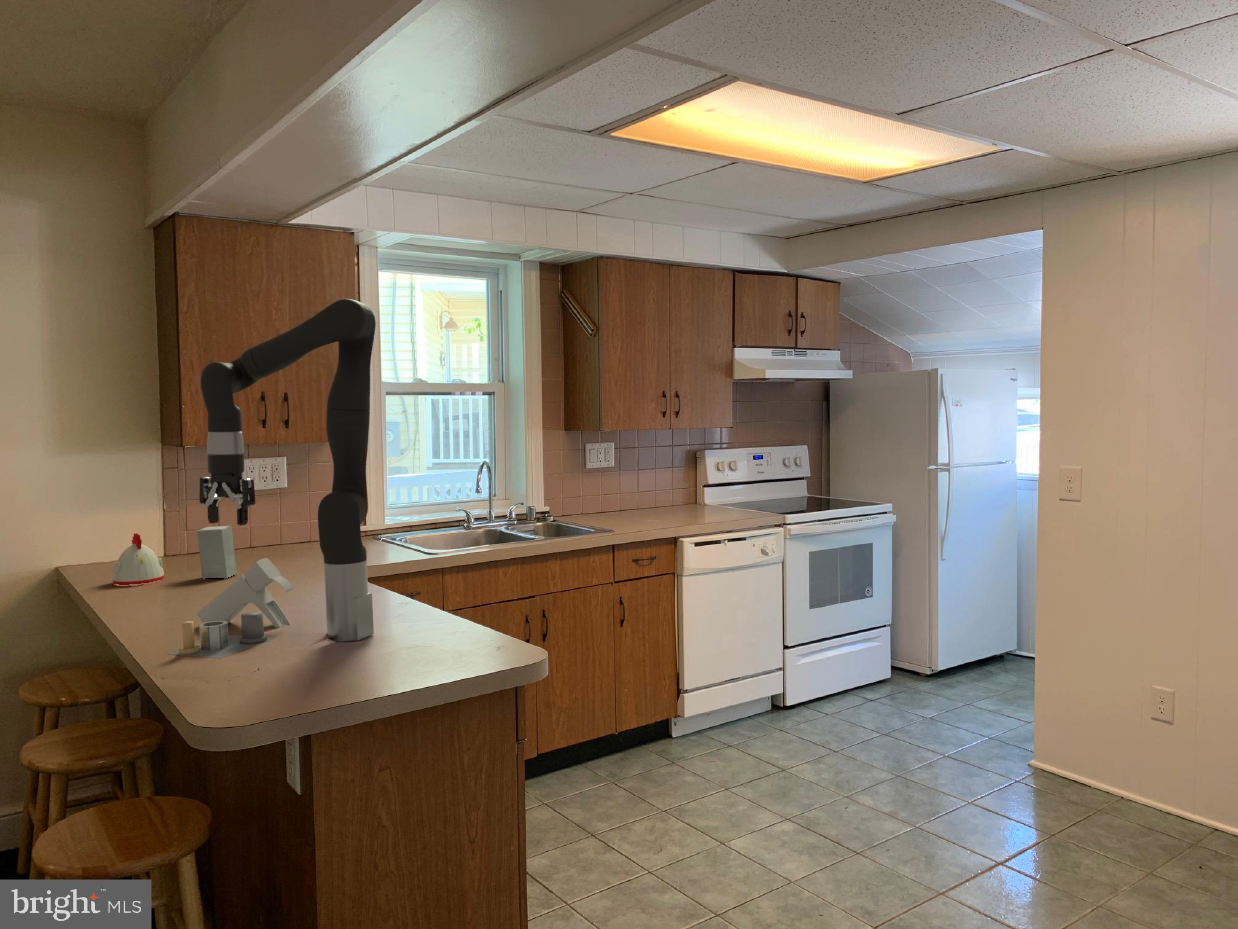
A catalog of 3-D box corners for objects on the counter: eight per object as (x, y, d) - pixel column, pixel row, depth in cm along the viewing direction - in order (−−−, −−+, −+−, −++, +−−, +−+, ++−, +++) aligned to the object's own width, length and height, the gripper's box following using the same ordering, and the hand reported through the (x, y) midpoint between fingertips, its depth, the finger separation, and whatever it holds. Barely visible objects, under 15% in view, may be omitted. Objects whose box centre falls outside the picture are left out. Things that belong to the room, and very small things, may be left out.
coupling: (234, 644, 196) (232, 621, 196) (215, 651, 191) (214, 627, 191) (213, 642, 198) (212, 620, 198) (195, 649, 193) (193, 626, 193)
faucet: (209, 606, 218) (268, 554, 216) (253, 658, 218) (312, 606, 215) (194, 613, 212) (255, 558, 209) (239, 666, 212) (301, 613, 209)
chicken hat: (119, 589, 268) (116, 538, 267) (108, 582, 278) (105, 534, 277) (170, 582, 277) (167, 533, 276) (157, 576, 287) (154, 529, 286)
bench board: (274, 643, 201) (272, 609, 200) (221, 664, 186) (219, 627, 185) (222, 639, 205) (220, 606, 205) (167, 659, 190) (164, 623, 190)
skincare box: (237, 575, 285) (234, 525, 284) (225, 579, 278) (222, 528, 277) (211, 575, 286) (208, 525, 285) (199, 580, 279) (196, 528, 278)
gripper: (262, 451, 204) (264, 523, 205) (215, 450, 210) (217, 520, 211) (236, 453, 197) (238, 527, 198) (188, 452, 203) (190, 524, 204)
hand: (227, 524), depth 205 cm, fingers open, 8 cm apart
